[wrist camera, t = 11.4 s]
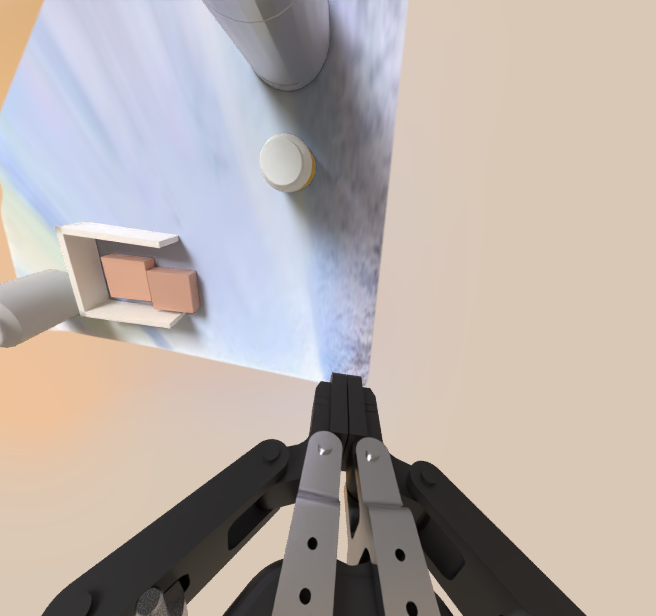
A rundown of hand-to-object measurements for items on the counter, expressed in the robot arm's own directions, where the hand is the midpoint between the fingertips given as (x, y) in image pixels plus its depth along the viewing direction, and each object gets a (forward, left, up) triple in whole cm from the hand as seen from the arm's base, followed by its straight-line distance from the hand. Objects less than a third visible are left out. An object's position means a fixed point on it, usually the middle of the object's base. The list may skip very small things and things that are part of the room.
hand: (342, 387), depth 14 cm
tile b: (+8, -24, -27) cm, 37 cm away
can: (+12, -41, -27) cm, 51 cm away
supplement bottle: (-10, -7, -27) cm, 30 cm away
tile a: (+7, -30, -27) cm, 41 cm away
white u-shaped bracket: (+7, -29, -27) cm, 40 cm away
